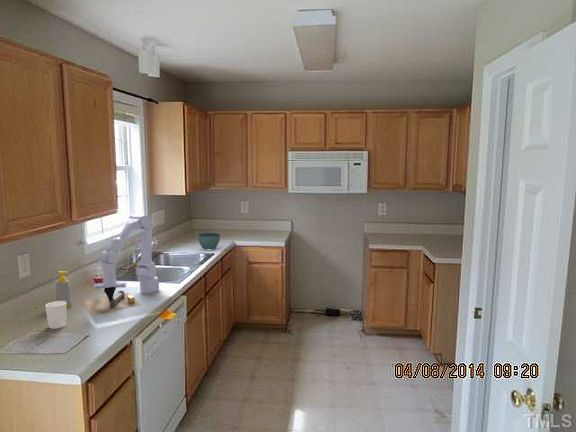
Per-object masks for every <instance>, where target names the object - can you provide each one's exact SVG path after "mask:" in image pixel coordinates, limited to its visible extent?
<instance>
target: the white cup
mask: <svg viewBox="0 0 576 432" xmlns="http://www.w3.org/2000/svg"><path fill="white" fill-rule="evenodd" d="M44 306H45V313H46V317H47V318H46V319H47V322H48V323H47V324H48V328H49V329H51V330H53V329H54V330H55V329H56V330H57V329H61V328H63V327H65V326H66V325H67V318H68V317H67V308H66V302H65V301H50V302H48V303H46V304H45V305H44Z"/></svg>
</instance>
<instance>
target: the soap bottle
mask: <svg viewBox="0 0 576 432" xmlns="http://www.w3.org/2000/svg"><path fill="white" fill-rule="evenodd" d="M58 273H60V276H59V278H58V280H57V281H56V282H55V294H56V295H55V297H56V299H55V300H56V301H65V302H66V309H67V308H69V307H71V306H72V304H73V300H72V299H73V297H72V291H71V284H70V283H71V282H70V280H69V279H67V278H66V276H64V274H67V273H69V271H63V270H62V271H61V270H59V271H58Z"/></svg>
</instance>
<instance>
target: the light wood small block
mask: <svg viewBox="0 0 576 432" xmlns="http://www.w3.org/2000/svg"><path fill="white" fill-rule="evenodd" d="M127 299H128V302H129V303H135V300H136V298H135V296H134V295H132V294H130V296H127Z"/></svg>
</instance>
